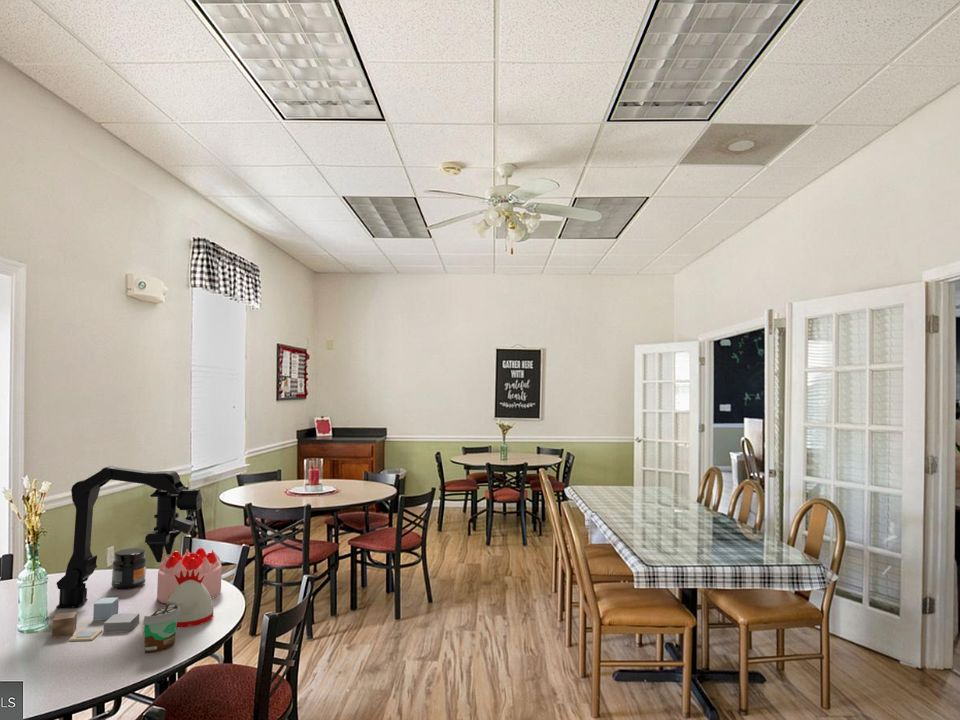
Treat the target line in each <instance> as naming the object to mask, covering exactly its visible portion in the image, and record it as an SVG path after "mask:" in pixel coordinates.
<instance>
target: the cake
mask: <svg viewBox="0 0 960 720" xmlns="http://www.w3.org/2000/svg"><path fill="white" fill-rule="evenodd" d="M220 561H221V560H220V556H219V555H218V554H217V553H216V552H215V551H214V549H211V551H210V552H208V553H206V550H205V548H203V547H199V548H198V549H197V550H196V551H195V552H190V551H189V549H188V548H186V551H185V553H184V554H183V555H181V553H180V552H179V551H178V550H174V551H173V552H171V554H170V555H169V557H168V556H166V555H164V559H163V560H161V562H160V563H159V565H158V567H159V569H158V573H157V586H156V587H157V588H156V590H157V591H156V599H157V601H158V602H160V603H161V604H164V605H165V604H166V605H167V602H168V600H169V599H168V596H169V595H170V594H171V593H172V592H173V591H174V589H175V588H176V587H177V586H178V585H179V584H178V582H177V580H176V578H175V575H177V577H180V572H181V570H182V573H183V576H184V577H185V576H186V573H187V570H189V576H191V574H192V570H193V569H194V574H195V576H196V575H197V574H198V572H199V576H198V579H199V580H200V579H201V578H202V577H203V576H204V578H203V580H202V582H201V583H202V584H203V585H204V586H205V587H206V589H207V590H208V592H209V594H210V597H211V598H212V599H214V598H216V597H218V596H219V594H220V593H221V591H222V576H223V575H222V574H223V573H222V572H223V571H222V570H223V567H222V563H221V562H220ZM215 596H216V597H215ZM213 597H214V598H213Z"/></svg>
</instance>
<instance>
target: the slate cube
mask: <svg viewBox="0 0 960 720" xmlns="http://www.w3.org/2000/svg"><path fill="white" fill-rule="evenodd" d="M119 600H120V598H119V597H100V599H98V600H97V601H96V602H94V603H93V611H92V612H93V614H92V616H93V618H92V621H107V620H108V619H109V618H110V617H112V616H113V615H114V614H119V605H120V603H119V602H120V601H119Z"/></svg>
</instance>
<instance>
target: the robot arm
mask: <svg viewBox="0 0 960 720" xmlns="http://www.w3.org/2000/svg"><path fill="white" fill-rule="evenodd" d="M111 480H112V481H119V482H126V483H134V484H142V485H146V486H148V487H151V489H152V488H153V489H155V491H154V492H152V494H150V497H151V498H157V500H156V501H157V502H156V513H155V514H154V519H155V520H156V521H155V526H154V527H153V530H152V531H151V532H149V533H148V534H146V536H145V538H144V543H145V544H146V545H147V546H148V547H149V549H150V551H151V553H152V554H153V557H154V558H155V560H156V563H161V562H162V561H163V560H162V559H163V555H164V551H165V553H166V555H169V556H171V554H172V553H173V552H172V551H173V548H174V545H175V542H176V539H177V537H179V535H181V534H182V533H183V534H186V535H188V534H189V533H190V532H192V530H193V527H194V526H195V525H196V523H195V520H194V516H192V515H187V516H186V517H183V516H182V517H181V516H179V515H180V513H179V512H178V511H177V509H179V511H200V510H201V508H202V504H203V498H202V494H201V489H200V488H199V489H198V488H197V489H187V487H186V486H185V485H184V484H183V482H182V481H181V478H180V475H179V474H178V472H177V471H175V470H160V471H159V470H158V471H146V470H140V469H131V468H126V467H125V468H124V467H119V466H118V467H117V466H114V465H109V466H106V467H105V466H104V467H103V468H102V469H101V470H99V471H98V472H95V474H93V475H91V476H89V477H88V478H86V479H83V480H79V481H77V482H75V483H74V484H73V485H72V487H71V489H70V492H71V500H72V503H73V505H74V507H75V520H74V535H73V547H72V549H73V550H72V554H71V556H70V558H69V561H68V562H67V566H66V570H65V574H64V575H63V577H61V578H60V579H59V580H58V581H57V582H56V583H55V584H56V587H57V589H58V590H59V595H58V596H59V600H58V601H59V602H58V604H57V605H56V606H55V607H56V609H59V608H60V609H61V608H62V609H65V608H80V606H82V605H83V604H85V603H86V602H87V601H88V598H87V597H88V587H87V586H86V581H88V580H89V577H90V576H91V575H93V573H95V569H97V568H98V565H97V559H98V555H97V554H96V555H93V554H92V551H91V545H92V543H91V541H92V532H93V531H92V527H93V513H94V506H95V504H96V502H97V500H98V497H99V494H100V490H101V488H102V487H103V486H105V485H106V484H107V483H108V482H110V481H111Z"/></svg>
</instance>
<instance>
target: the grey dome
mask: <svg viewBox="0 0 960 720" xmlns="http://www.w3.org/2000/svg"><path fill="white" fill-rule="evenodd" d="M198 576H199V572H198V574H197V575H196V576H195V574H194V569H193V570H192V574H191V576H189V570H187V573H186V576H185V577H184V576H183V573H182V570H181V572H180V577H177V575H175V578H176V580H177V582H178V584H179V585H178V586H177V587H176V588H175V589H174V591H173V592H172V593H171V594H170V595H169V596H168V599H169V600H168V602H175V603H177V604H178V605H179V607H180V612H181V614H180V615H179V616H178V618H177V627H176V629H177V628H191V627H195V626H199V625H202V624H205V623H208V622H209V621H211V620H212V617H213V618H214V604H213V599H211V597H210V594H209V592H208V590H207V589H206V587H205V586H204V585H203V584H202V583H201V582H202V580H203V578H204V576H203V577H202V578H201V579H200V580H199V579H198Z"/></svg>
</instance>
